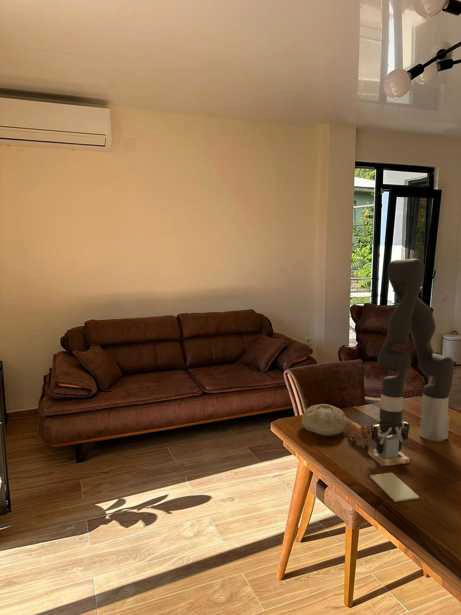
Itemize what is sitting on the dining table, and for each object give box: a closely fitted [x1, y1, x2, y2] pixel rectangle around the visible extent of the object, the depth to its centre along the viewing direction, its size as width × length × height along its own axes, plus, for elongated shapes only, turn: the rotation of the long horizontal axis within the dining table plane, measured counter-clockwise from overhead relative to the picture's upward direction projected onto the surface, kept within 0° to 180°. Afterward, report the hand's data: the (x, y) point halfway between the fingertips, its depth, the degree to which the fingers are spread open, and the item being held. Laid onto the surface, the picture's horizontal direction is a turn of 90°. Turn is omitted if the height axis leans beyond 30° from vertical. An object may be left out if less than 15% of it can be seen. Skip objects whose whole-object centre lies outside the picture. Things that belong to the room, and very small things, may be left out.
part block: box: [379, 435, 399, 459], centre depth 153 cm, size 4×4×8 cm
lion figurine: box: [344, 422, 380, 449], centre depth 165 cm, size 15×5×9 cm, turn 35°
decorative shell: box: [301, 403, 348, 437], centre depth 175 cm, size 18×18×10 cm
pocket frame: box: [367, 448, 410, 467], centre depth 153 cm, size 10×9×2 cm
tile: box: [369, 472, 420, 503], centre depth 135 cm, size 8×14×1 cm, turn 12°
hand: (388, 451), depth 153 cm, fingers open, 6 cm apart
